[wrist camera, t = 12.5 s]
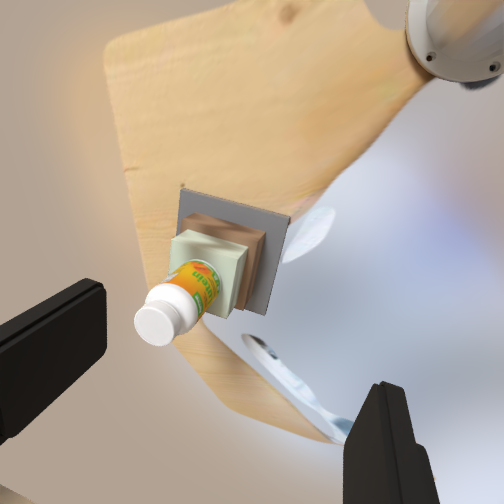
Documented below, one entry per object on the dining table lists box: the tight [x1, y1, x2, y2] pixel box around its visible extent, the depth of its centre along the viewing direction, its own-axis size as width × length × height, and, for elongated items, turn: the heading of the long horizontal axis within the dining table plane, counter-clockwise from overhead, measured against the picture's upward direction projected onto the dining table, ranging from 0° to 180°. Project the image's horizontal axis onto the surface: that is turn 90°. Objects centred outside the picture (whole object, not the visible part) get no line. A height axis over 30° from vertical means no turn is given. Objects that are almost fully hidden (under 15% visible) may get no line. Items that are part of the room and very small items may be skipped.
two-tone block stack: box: [168, 212, 266, 319], centre depth 39 cm, size 10×10×8 cm
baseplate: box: [176, 188, 290, 315], centre depth 43 cm, size 15×15×1 cm
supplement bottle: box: [134, 259, 222, 346], centre depth 31 cm, size 5×5×10 cm
